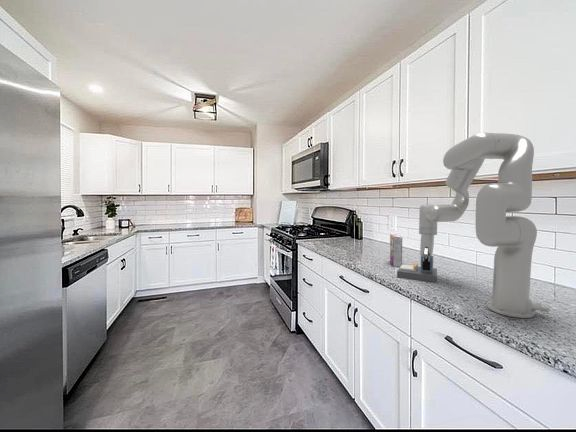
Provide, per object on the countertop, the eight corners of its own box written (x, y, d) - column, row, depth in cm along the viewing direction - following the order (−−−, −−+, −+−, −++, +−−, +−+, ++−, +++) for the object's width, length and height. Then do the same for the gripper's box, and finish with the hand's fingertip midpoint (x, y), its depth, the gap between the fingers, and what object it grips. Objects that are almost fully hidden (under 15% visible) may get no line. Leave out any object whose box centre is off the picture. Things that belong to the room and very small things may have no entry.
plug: (432, 273, 130) (433, 256, 130) (432, 276, 126) (432, 257, 126) (421, 272, 133) (421, 254, 132) (420, 274, 129) (420, 256, 128)
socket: (437, 274, 134) (437, 268, 133) (435, 282, 122) (435, 276, 122) (401, 270, 142) (402, 264, 142) (397, 277, 130) (397, 271, 130)
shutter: (417, 267, 135) (417, 263, 135) (416, 271, 128) (416, 266, 128) (402, 266, 139) (402, 261, 139) (399, 269, 132) (399, 264, 132)
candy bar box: (389, 262, 160) (389, 234, 159) (398, 262, 159) (398, 234, 158) (392, 267, 149) (393, 237, 148) (402, 267, 148) (402, 237, 147)
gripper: (420, 228, 138) (420, 262, 139) (416, 232, 123) (416, 271, 124) (437, 229, 134) (436, 264, 135) (435, 233, 119) (434, 273, 120)
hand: (426, 267), depth 129 cm, fingers open, 8 cm apart
